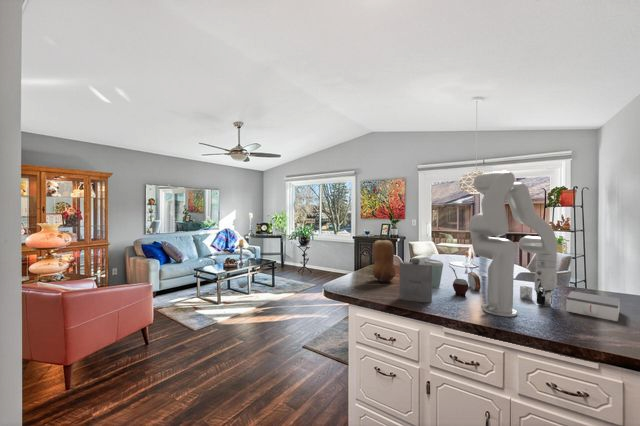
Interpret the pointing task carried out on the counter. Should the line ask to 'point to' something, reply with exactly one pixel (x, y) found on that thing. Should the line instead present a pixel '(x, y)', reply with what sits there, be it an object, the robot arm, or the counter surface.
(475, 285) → the bread slice
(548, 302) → the spacer
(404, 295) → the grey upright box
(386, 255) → the butternut squash
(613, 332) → the counter surface
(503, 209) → the robot arm
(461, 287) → the mate gourd
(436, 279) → the disposable coffee cup
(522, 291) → the spacer
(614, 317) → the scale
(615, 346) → the counter surface
